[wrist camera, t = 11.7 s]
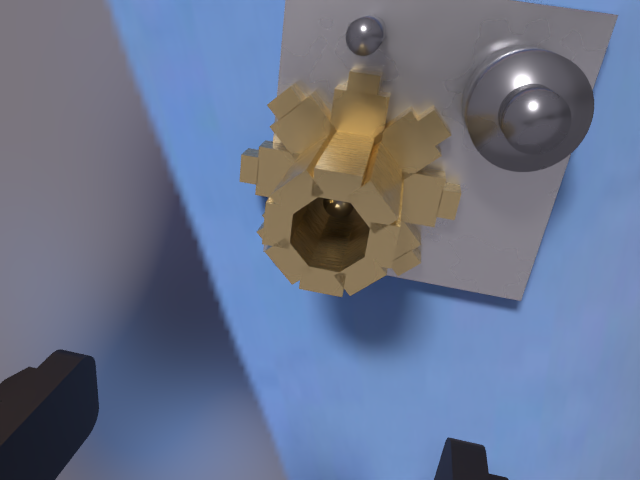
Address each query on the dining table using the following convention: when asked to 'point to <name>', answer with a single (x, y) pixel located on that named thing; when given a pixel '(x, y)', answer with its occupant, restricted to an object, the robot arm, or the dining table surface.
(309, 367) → the dining table surface
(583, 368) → the dining table surface
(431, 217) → the planet gear
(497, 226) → the plate
